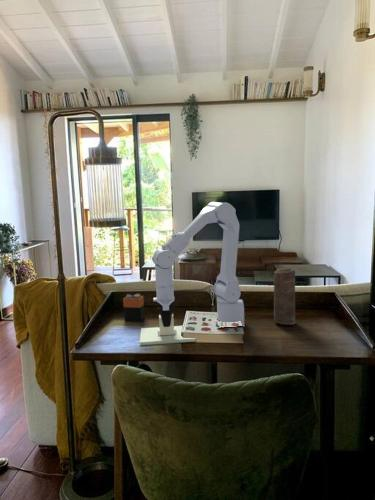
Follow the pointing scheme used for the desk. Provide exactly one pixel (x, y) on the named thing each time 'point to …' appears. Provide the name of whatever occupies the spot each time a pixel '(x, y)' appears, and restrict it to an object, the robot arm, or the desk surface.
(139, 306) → the battery
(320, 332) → the desk surface
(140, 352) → the desk surface
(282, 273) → the candle
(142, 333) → the header board
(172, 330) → the housing
